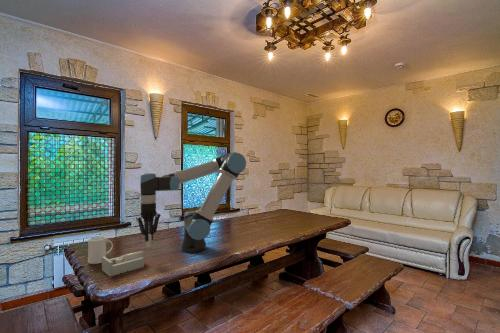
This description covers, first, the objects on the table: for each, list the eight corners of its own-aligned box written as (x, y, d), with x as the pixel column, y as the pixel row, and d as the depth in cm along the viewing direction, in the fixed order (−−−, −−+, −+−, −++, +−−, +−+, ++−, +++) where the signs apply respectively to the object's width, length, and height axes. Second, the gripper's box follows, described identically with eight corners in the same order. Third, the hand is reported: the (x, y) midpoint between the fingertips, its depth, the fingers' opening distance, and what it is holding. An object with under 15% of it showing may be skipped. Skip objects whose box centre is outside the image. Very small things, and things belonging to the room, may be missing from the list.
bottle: (139, 250, 140) (111, 256, 130) (144, 251, 137) (115, 258, 126) (140, 260, 140) (111, 267, 129) (145, 261, 136) (115, 269, 126)
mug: (111, 255, 147) (111, 234, 147) (114, 260, 141) (114, 238, 140) (86, 260, 140) (87, 237, 140) (88, 265, 134) (88, 241, 133)
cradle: (134, 261, 140) (134, 249, 140) (143, 266, 133) (143, 254, 133) (101, 270, 128) (101, 257, 128) (109, 276, 121) (110, 262, 121)
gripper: (156, 200, 147) (156, 242, 147) (132, 203, 137) (133, 248, 138) (163, 201, 142) (163, 245, 142) (139, 205, 132) (140, 251, 133)
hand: (149, 246), depth 140 cm, fingers closed
